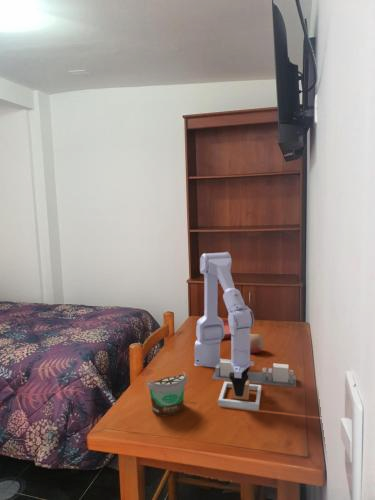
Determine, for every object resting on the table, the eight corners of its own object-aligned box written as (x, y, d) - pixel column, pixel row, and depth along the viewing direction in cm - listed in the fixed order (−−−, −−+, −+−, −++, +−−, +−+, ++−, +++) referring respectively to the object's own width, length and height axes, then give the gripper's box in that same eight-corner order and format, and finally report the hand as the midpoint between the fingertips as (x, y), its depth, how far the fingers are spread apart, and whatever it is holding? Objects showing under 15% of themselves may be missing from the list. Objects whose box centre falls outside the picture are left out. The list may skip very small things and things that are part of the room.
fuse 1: (220, 375, 132) (220, 362, 132) (221, 372, 135) (221, 358, 134) (234, 377, 131) (234, 363, 130) (235, 373, 134) (235, 360, 133)
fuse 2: (272, 381, 128) (273, 367, 127) (273, 377, 131) (273, 363, 130) (288, 382, 126) (288, 368, 126) (288, 378, 129) (288, 364, 129)
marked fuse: (232, 398, 117) (232, 383, 117) (233, 393, 120) (233, 379, 120) (248, 400, 116) (248, 385, 115) (249, 395, 119) (249, 380, 118)
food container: (156, 423, 106) (155, 389, 105) (147, 412, 111) (146, 380, 110) (194, 411, 111) (194, 379, 110) (185, 401, 117) (184, 370, 116)
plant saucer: (250, 337, 171) (250, 330, 171) (212, 342, 166) (212, 334, 166) (235, 325, 188) (235, 318, 188) (200, 328, 184) (200, 322, 183)
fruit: (262, 348, 157) (262, 330, 156) (264, 356, 149) (264, 337, 148) (242, 348, 158) (242, 330, 157) (243, 356, 150) (243, 336, 149)
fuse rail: (211, 380, 130) (211, 370, 130) (215, 369, 138) (215, 360, 138) (296, 388, 124) (296, 378, 123) (295, 377, 131) (295, 367, 131)
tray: (218, 406, 114) (218, 399, 114) (224, 387, 125) (224, 381, 125) (258, 411, 111) (258, 404, 111) (261, 391, 122) (261, 385, 122)
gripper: (251, 358, 108) (251, 403, 110) (255, 340, 122) (255, 380, 124) (227, 356, 110) (227, 400, 112) (233, 338, 124) (233, 377, 125)
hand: (240, 389), depth 118 cm, fingers open, 7 cm apart
